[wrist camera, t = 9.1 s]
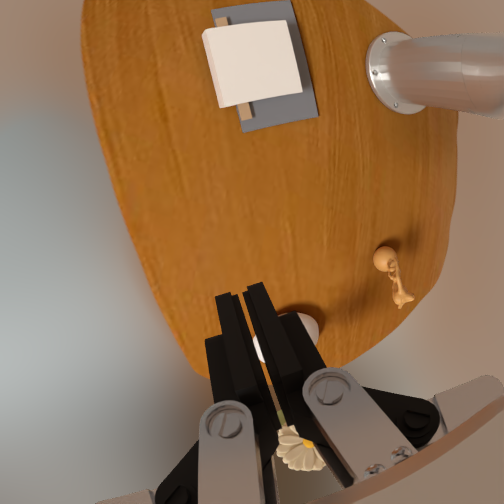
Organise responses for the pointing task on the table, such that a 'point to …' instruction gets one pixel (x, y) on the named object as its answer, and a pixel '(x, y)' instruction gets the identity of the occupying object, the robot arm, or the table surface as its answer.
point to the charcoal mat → (298, 103)
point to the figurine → (386, 262)
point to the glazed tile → (251, 61)
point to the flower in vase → (291, 445)
